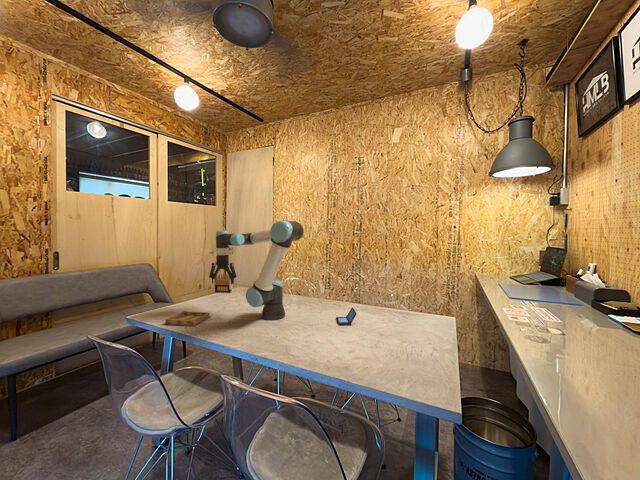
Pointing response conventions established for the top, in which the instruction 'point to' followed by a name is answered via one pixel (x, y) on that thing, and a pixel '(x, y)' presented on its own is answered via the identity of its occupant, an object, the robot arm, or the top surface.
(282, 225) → the robot arm
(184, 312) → the tray
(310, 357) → the top surface
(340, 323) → the handheld game console
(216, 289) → the ammunition clip
